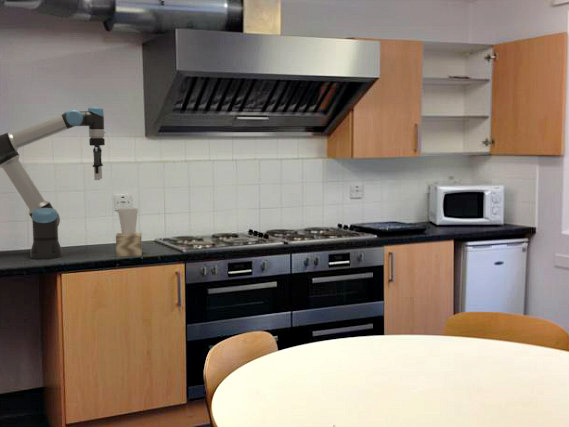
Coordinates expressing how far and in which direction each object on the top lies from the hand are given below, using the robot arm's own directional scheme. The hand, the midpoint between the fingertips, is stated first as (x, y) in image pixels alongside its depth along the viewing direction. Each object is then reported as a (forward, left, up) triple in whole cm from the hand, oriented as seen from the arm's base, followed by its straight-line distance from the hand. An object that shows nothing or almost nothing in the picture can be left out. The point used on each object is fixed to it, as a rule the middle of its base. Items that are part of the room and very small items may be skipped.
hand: (98, 179), depth 374 cm
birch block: (+15, -17, -37) cm, 43 cm away
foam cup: (+15, -17, -27) cm, 35 cm away
